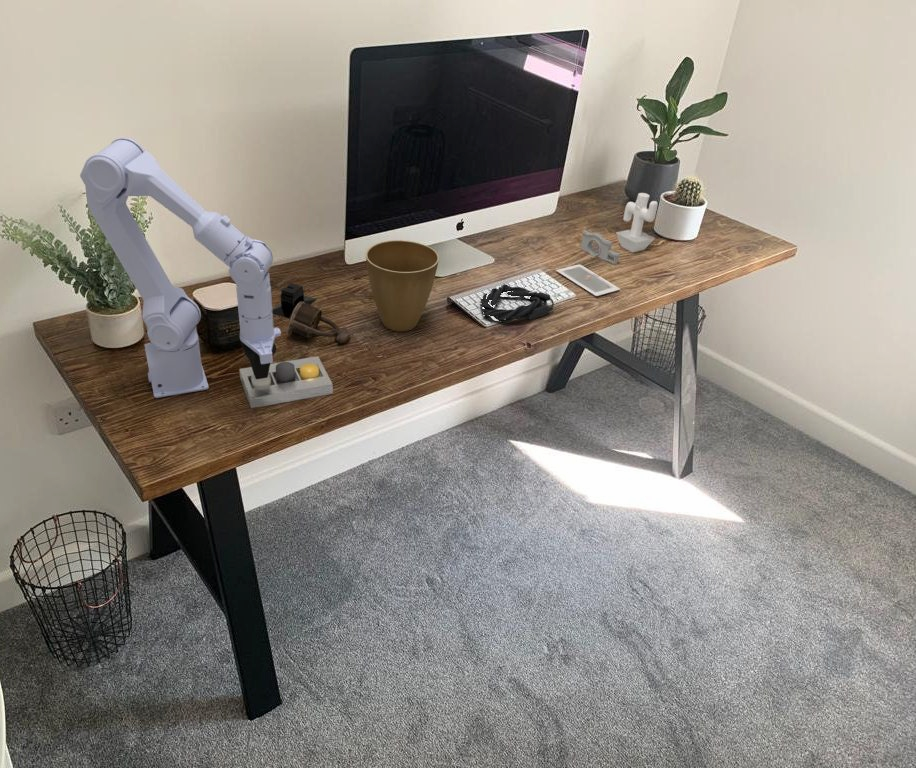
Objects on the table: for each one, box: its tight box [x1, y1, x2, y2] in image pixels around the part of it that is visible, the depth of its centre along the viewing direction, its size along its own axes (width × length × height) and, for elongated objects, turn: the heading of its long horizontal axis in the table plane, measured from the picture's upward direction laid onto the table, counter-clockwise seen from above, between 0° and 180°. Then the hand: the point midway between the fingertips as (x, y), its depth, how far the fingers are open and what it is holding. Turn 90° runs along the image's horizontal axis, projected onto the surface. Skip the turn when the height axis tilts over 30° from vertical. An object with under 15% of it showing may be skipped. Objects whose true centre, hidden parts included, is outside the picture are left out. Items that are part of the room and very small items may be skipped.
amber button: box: [300, 363, 319, 380], centre depth 151 cm, size 3×3×3 cm
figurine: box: [615, 192, 659, 254], centre depth 210 cm, size 7×9×15 cm
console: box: [239, 356, 334, 409], centre depth 150 cm, size 15×10×2 cm, turn 113°
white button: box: [251, 373, 272, 389], centre depth 148 cm, size 3×3×3 cm
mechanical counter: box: [286, 302, 351, 344], centre depth 164 cm, size 7×13×10 cm
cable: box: [479, 283, 555, 323], centre depth 180 cm, size 17×14×4 cm
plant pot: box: [365, 239, 440, 332], centre depth 168 cm, size 15×15×16 cm
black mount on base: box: [272, 282, 318, 319], centre depth 175 cm, size 13×8×5 cm, turn 157°
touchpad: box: [555, 263, 621, 297], centre depth 195 cm, size 8×15×2 cm, turn 34°
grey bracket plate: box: [580, 229, 621, 266], centre depth 207 cm, size 12×2×6 cm, turn 42°
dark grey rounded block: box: [276, 361, 296, 384], centre depth 149 cm, size 3×3×3 cm
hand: (261, 376), depth 147 cm, fingers closed, pressing on white button
